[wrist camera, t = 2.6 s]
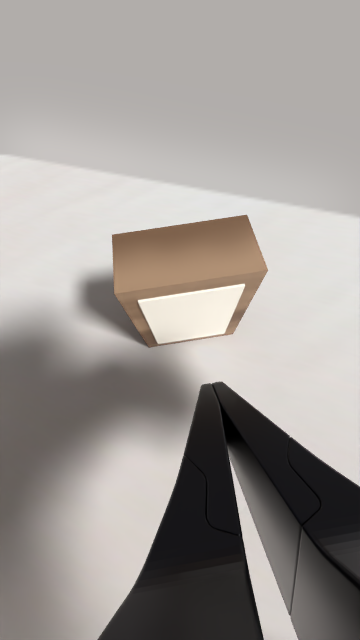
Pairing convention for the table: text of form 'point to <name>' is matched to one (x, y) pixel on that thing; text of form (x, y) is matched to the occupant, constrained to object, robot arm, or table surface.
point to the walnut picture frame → (187, 278)
